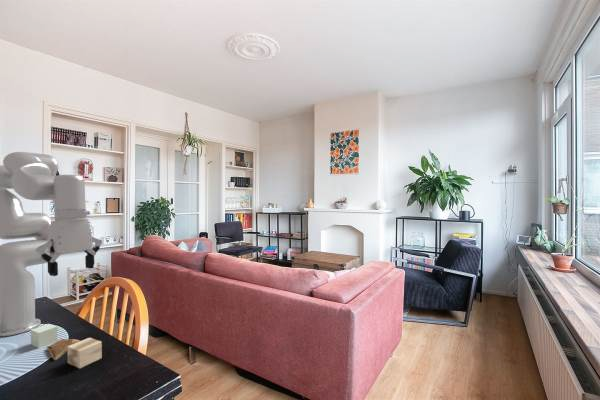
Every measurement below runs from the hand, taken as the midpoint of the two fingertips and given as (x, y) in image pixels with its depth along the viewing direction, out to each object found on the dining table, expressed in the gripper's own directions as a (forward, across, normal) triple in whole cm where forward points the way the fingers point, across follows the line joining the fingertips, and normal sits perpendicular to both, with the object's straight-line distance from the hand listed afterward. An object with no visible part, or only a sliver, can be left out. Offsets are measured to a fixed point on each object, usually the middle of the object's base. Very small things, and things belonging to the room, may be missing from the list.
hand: (72, 271), depth 89 cm
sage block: (+25, 0, -17) cm, 30 cm away
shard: (+26, -1, -7) cm, 27 cm away
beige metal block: (+26, 0, +6) cm, 27 cm away
